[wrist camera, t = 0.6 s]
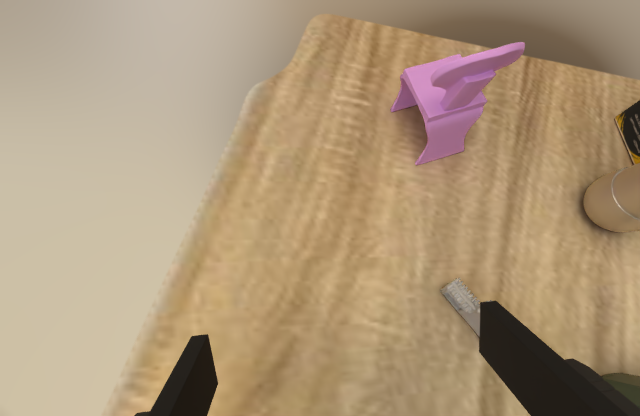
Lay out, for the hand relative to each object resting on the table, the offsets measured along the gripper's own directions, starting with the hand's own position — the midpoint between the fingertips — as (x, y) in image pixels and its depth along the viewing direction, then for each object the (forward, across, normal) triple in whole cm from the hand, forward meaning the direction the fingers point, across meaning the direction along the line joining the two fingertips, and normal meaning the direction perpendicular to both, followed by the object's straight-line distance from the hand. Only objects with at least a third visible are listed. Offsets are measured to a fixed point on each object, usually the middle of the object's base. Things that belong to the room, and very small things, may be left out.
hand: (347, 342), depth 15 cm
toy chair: (+27, -14, -9) cm, 32 cm away
